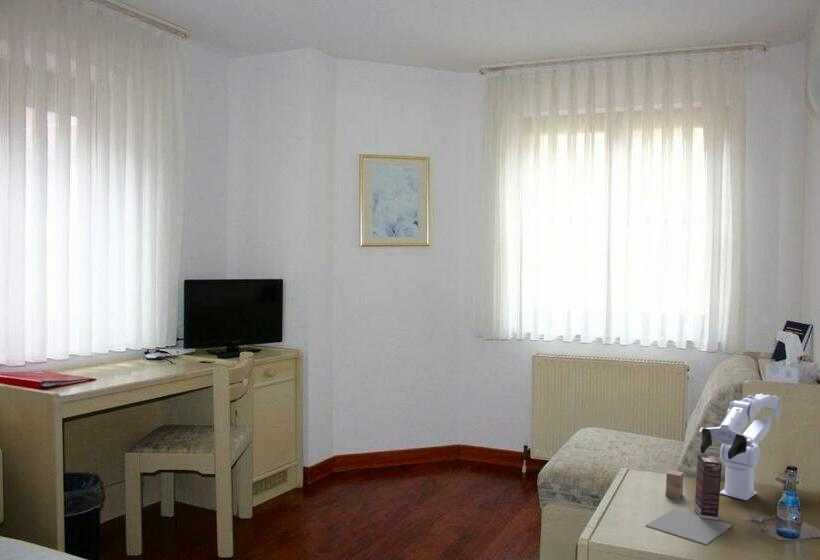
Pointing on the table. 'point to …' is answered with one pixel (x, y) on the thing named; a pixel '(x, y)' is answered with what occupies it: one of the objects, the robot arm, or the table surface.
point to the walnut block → (674, 484)
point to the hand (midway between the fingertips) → (715, 453)
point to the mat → (689, 526)
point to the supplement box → (708, 486)
